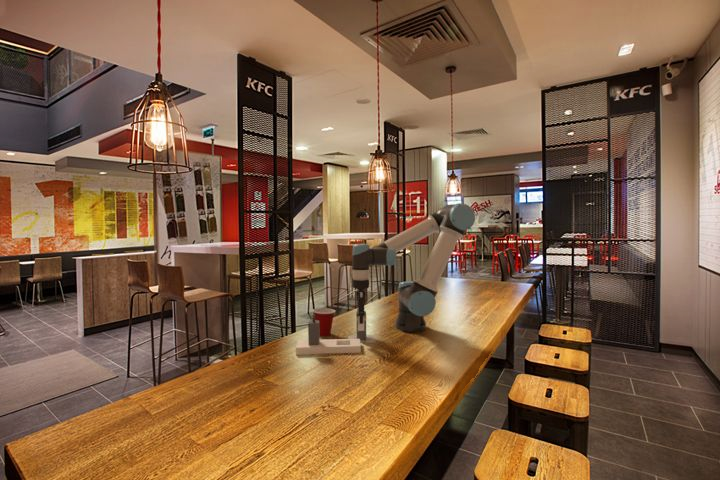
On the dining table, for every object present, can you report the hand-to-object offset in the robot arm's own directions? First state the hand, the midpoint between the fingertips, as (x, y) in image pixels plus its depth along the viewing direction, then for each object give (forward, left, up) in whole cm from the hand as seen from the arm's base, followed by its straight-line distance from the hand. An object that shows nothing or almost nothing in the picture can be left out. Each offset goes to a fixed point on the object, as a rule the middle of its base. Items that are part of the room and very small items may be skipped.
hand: (360, 326), depth 163 cm
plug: (0, 0, -6) cm, 6 cm away
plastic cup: (+17, -8, -7) cm, 20 cm away
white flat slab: (0, 0, -6) cm, 6 cm away
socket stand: (+14, +12, -6) cm, 19 cm away
